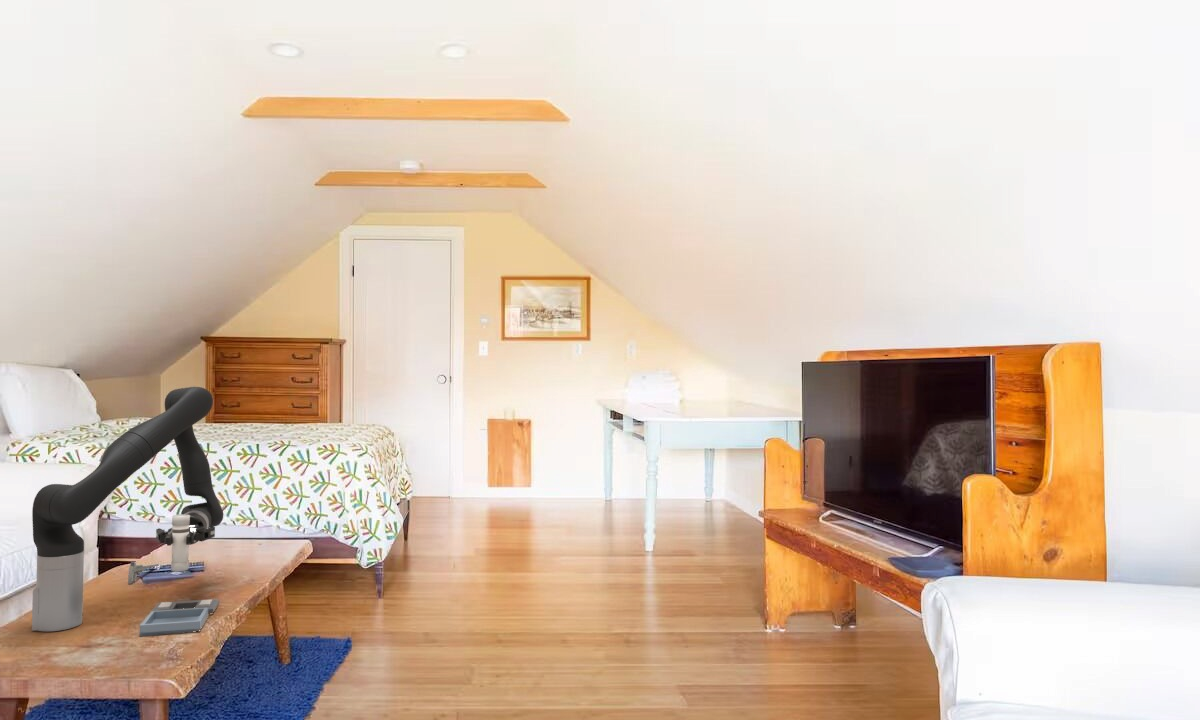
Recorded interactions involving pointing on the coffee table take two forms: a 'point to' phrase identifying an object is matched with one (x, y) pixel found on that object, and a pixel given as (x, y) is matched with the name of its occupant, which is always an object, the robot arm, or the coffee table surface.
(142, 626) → the parts tray
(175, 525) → the fuse
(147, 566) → the caliper
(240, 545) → the coffee table surface
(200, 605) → the block
